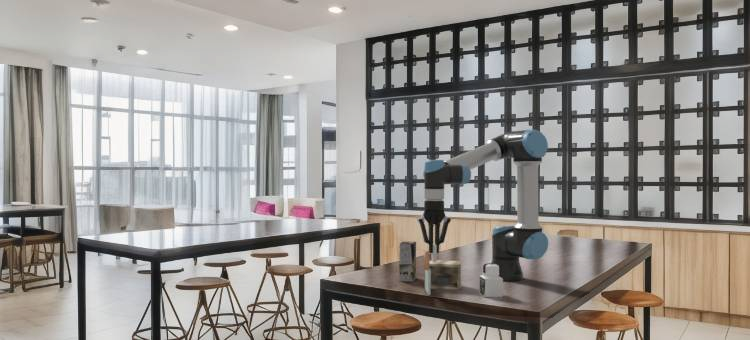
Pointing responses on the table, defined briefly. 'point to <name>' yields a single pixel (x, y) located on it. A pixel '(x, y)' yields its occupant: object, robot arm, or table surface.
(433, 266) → the cubby
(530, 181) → the robot arm
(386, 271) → the table surface
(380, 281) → the table surface
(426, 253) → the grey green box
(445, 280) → the cartridge
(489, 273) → the medicine bottle
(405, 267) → the coffee box
